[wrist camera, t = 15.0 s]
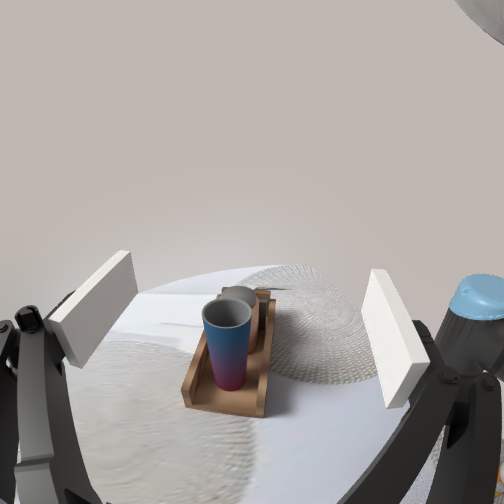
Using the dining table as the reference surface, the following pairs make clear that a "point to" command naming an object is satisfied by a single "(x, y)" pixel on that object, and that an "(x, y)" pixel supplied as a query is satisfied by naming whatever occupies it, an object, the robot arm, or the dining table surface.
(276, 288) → the spoon
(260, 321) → the pusher
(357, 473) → the dining table surface
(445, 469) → the robot arm
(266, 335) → the wooden tray
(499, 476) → the supplement bottle
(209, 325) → the cup
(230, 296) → the jar
